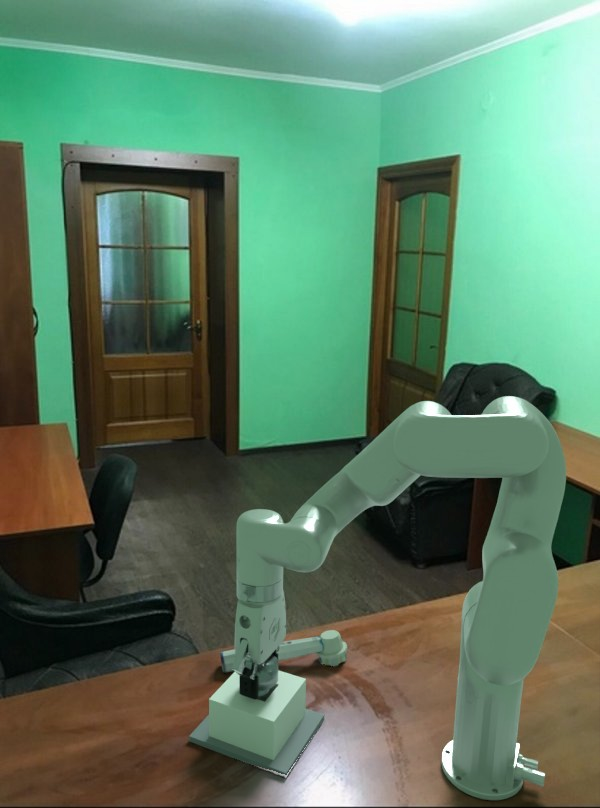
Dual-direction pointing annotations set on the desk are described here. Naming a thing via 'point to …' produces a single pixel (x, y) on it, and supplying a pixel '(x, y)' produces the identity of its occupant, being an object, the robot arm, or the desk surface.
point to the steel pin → (266, 676)
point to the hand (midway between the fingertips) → (259, 683)
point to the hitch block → (259, 724)
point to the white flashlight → (303, 650)
